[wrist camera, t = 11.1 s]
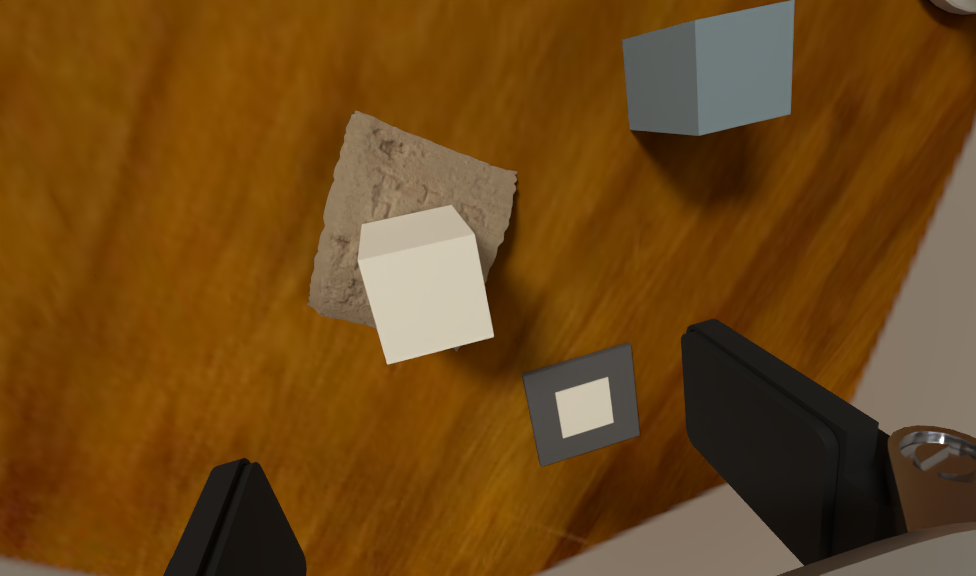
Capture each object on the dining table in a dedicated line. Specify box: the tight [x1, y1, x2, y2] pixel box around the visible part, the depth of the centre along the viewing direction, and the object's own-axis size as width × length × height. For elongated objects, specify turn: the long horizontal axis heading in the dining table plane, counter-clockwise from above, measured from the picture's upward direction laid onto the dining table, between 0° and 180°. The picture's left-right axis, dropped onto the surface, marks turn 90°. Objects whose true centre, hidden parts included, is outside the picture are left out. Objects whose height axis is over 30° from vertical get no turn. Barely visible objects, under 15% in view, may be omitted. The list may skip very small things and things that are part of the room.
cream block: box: [358, 205, 494, 364], centre depth 25 cm, size 5×5×7 cm
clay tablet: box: [307, 111, 518, 352], centre depth 29 cm, size 14×10×3 cm
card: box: [522, 343, 640, 467], centre depth 36 cm, size 8×8×1 cm
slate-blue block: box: [622, 0, 794, 136], centre depth 26 cm, size 5×5×7 cm
